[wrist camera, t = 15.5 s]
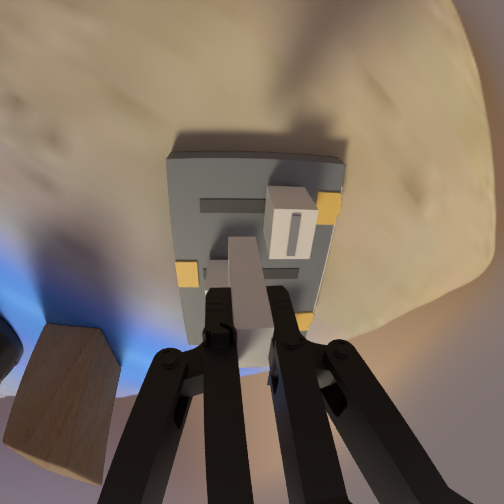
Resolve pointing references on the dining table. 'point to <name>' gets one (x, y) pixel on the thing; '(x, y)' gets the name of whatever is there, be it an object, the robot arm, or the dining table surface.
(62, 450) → the wooden block
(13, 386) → the dining table surface
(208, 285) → the slider
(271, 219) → the slider
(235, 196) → the console
